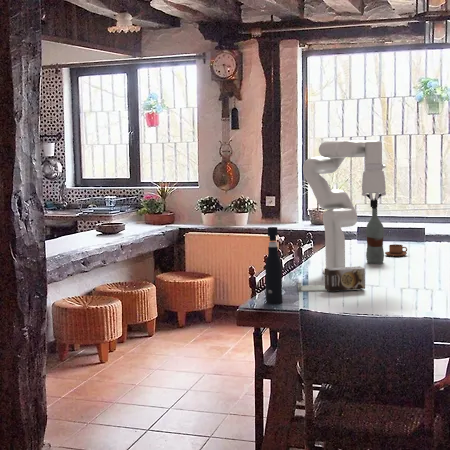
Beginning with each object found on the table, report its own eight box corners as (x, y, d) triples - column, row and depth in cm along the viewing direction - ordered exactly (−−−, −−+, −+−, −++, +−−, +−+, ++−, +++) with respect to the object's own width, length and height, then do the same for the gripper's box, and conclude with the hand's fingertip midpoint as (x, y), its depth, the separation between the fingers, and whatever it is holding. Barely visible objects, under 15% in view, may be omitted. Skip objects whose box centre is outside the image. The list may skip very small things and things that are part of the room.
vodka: (365, 263, 367) (365, 207, 364) (366, 261, 376) (365, 206, 373) (384, 264, 365) (383, 207, 362) (384, 261, 374) (383, 205, 371)
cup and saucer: (403, 254, 400) (403, 243, 399) (409, 257, 388) (409, 246, 387) (382, 254, 399) (382, 244, 399) (388, 257, 387) (388, 246, 387)
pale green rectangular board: (298, 287, 308) (297, 283, 308) (357, 286, 306) (357, 282, 305) (298, 291, 298) (298, 287, 298) (359, 290, 296) (359, 286, 295)
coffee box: (365, 289, 296) (329, 292, 293) (360, 286, 302) (324, 289, 299) (365, 267, 295) (328, 270, 292) (359, 265, 301) (323, 268, 298)
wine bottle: (281, 300, 280) (279, 226, 277) (283, 303, 274) (281, 228, 271) (265, 301, 280) (263, 226, 277) (266, 304, 274) (265, 228, 271)
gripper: (389, 167, 316) (389, 207, 317) (355, 168, 317) (356, 208, 319) (391, 167, 308) (392, 208, 310) (357, 168, 310) (358, 209, 311)
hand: (374, 208), depth 314 cm, fingers closed
